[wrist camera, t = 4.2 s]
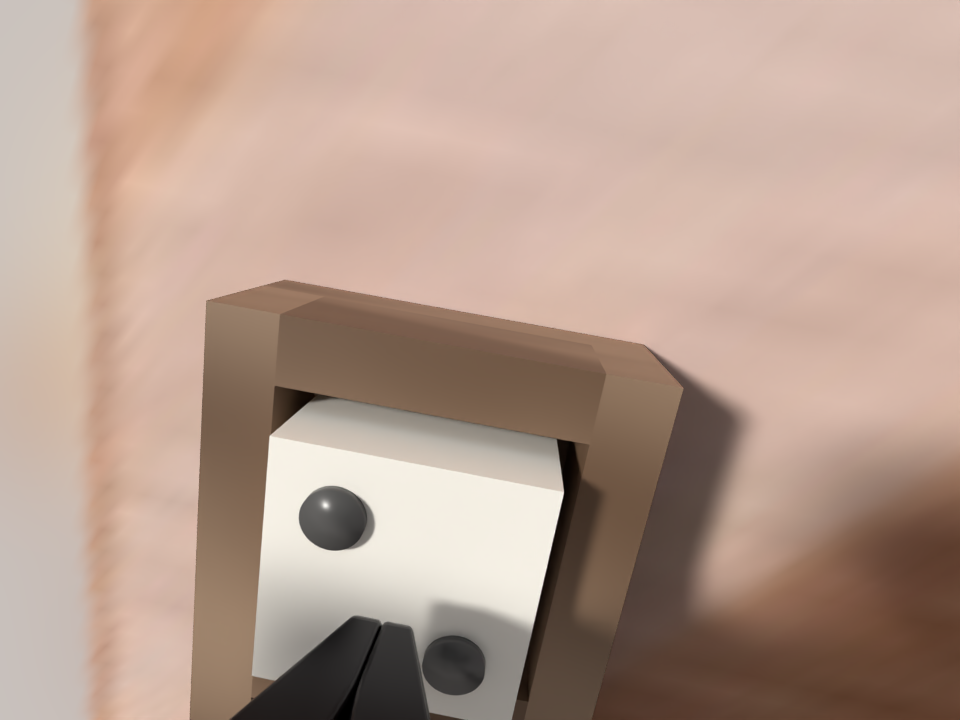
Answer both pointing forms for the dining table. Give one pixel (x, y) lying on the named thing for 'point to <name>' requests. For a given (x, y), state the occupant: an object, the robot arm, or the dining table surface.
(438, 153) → the dining table surface
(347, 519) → the tile two
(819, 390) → the dining table surface
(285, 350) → the button board
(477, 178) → the dining table surface
